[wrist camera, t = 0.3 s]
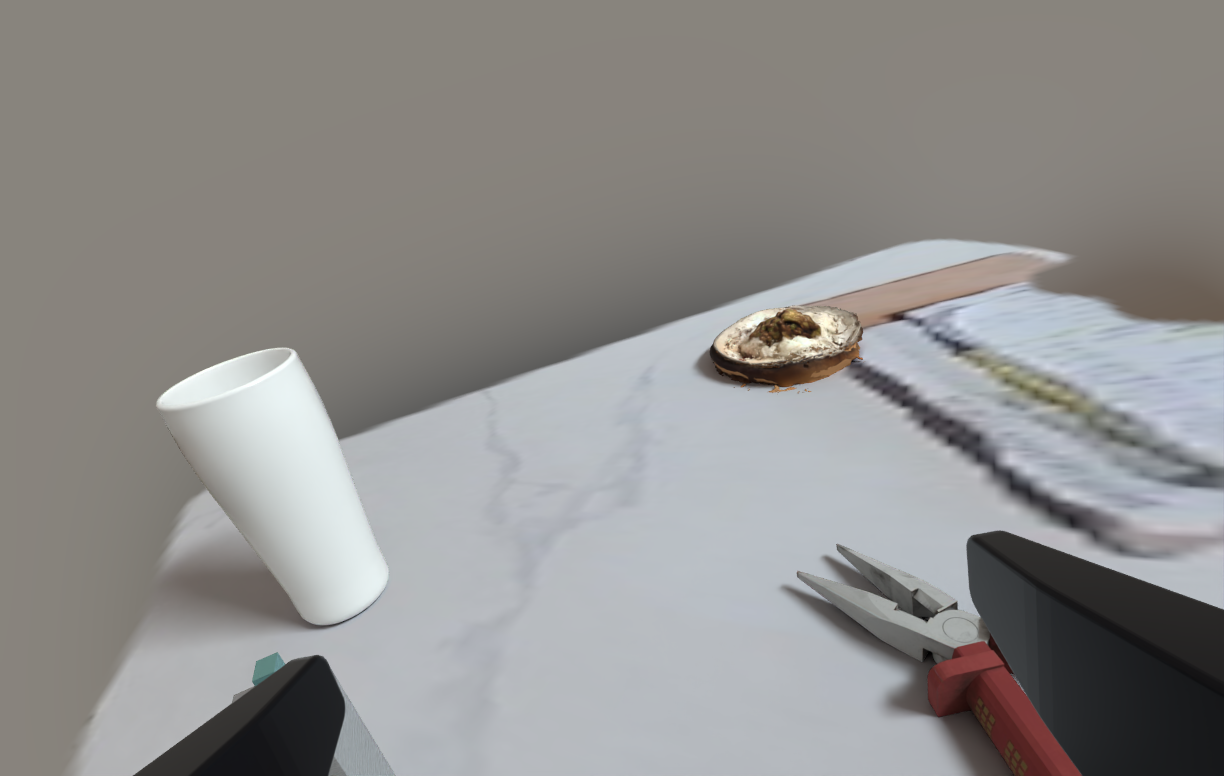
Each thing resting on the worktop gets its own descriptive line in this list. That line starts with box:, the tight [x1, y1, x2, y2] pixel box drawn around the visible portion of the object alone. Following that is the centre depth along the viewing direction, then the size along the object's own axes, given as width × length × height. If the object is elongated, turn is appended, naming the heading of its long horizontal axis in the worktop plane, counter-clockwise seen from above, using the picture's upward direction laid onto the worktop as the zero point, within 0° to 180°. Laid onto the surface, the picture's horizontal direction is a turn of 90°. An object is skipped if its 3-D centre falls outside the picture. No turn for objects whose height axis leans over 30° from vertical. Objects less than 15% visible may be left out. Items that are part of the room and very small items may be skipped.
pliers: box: [797, 544, 1082, 776], centre depth 22 cm, size 11×20×3 cm, turn 33°
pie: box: [710, 305, 865, 395], centre depth 53 cm, size 15×15×4 cm
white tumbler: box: [156, 348, 389, 625], centre depth 34 cm, size 7×7×15 cm
